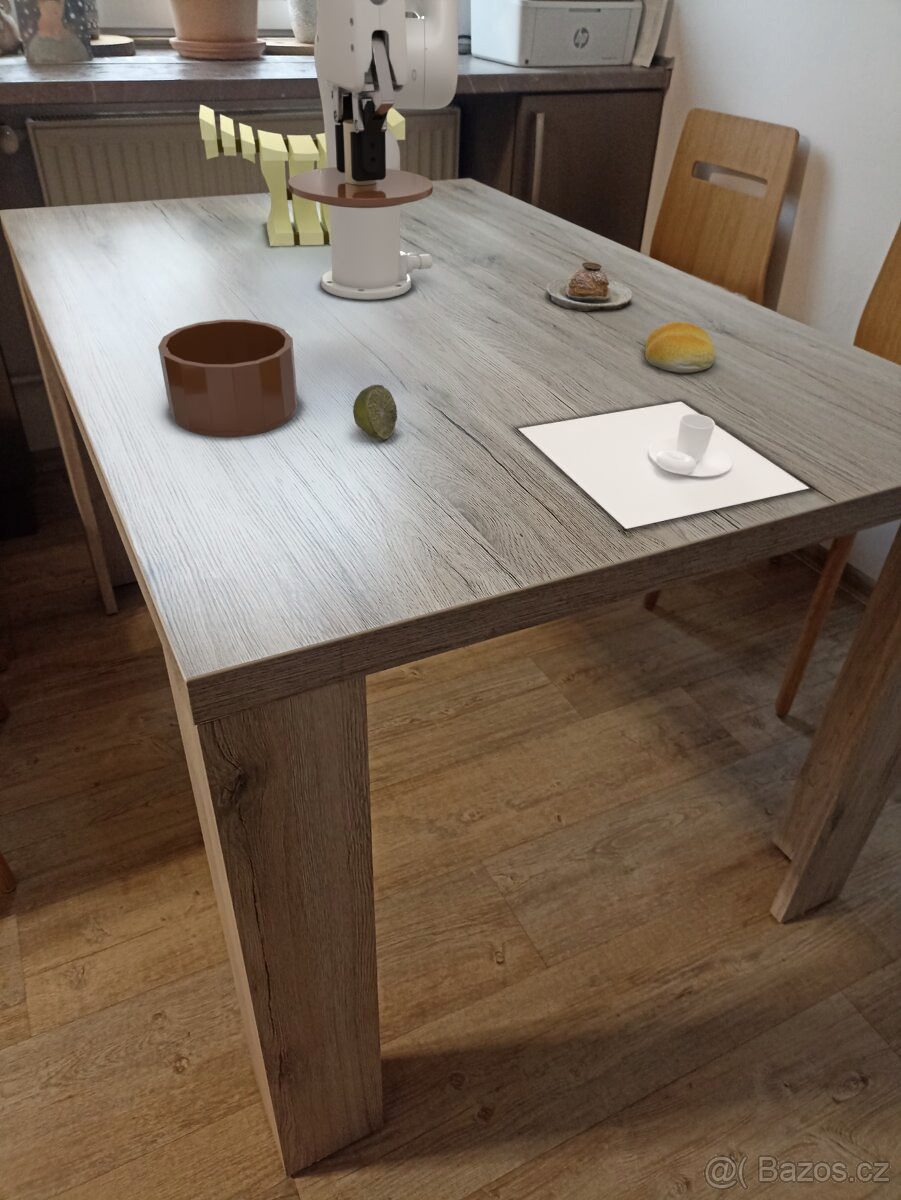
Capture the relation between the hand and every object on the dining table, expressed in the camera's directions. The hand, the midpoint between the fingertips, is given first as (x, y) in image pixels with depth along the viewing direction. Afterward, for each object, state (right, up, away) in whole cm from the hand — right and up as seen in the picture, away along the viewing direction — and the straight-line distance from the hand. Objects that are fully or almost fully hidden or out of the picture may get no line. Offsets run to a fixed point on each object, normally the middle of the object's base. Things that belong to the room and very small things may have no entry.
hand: (361, 173), depth 80 cm
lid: (0, -1, +1) cm, 1 cm away
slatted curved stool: (-15, +21, +62) cm, 67 cm away
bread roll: (+36, -11, +23) cm, 44 cm away
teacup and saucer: (+28, -26, +2) cm, 39 cm away
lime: (+1, -24, +4) cm, 24 cm away
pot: (-14, -21, +7) cm, 26 cm away
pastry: (+28, +2, +40) cm, 48 cm away
